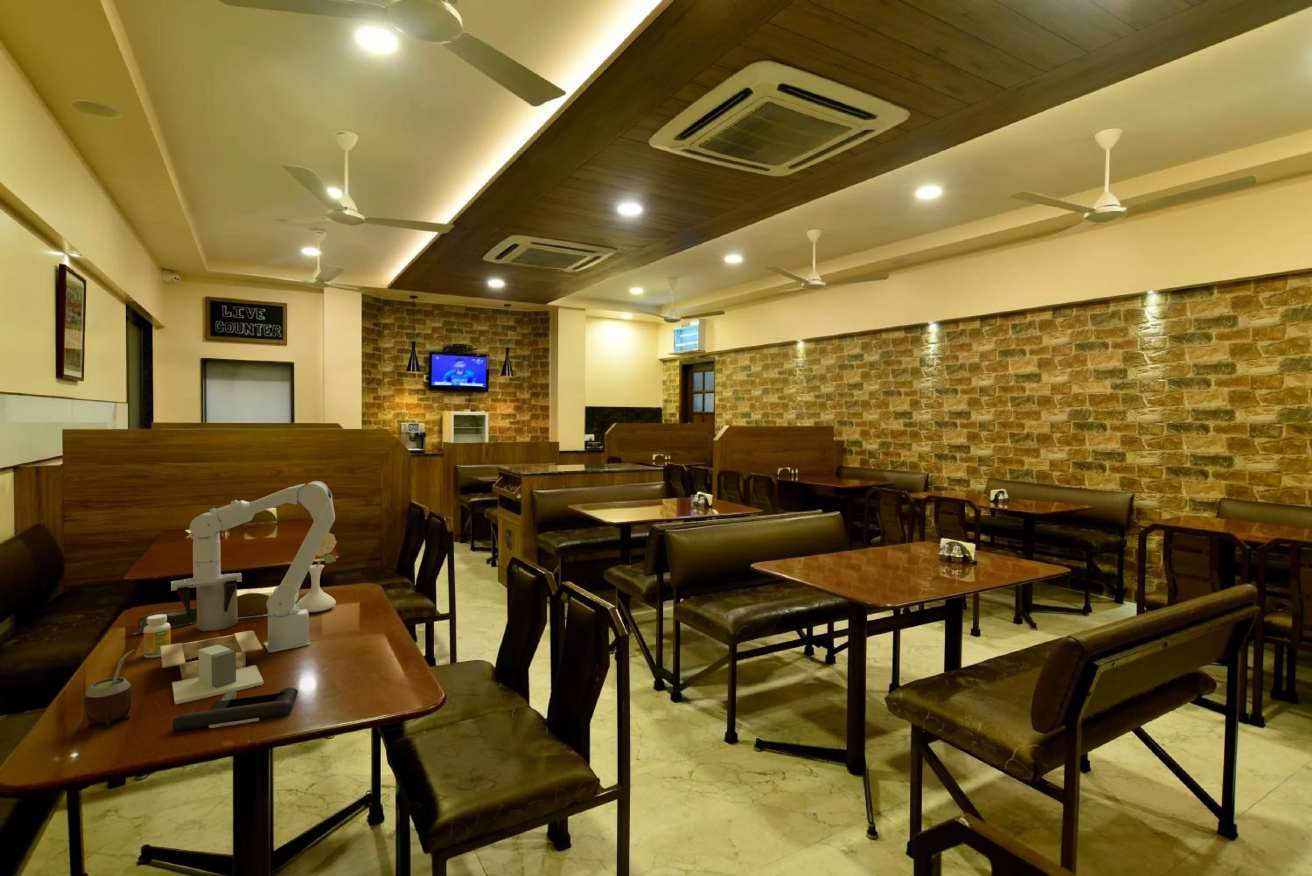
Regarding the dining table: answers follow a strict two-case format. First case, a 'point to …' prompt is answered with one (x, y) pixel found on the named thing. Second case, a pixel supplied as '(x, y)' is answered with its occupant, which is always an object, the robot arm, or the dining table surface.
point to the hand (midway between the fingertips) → (207, 613)
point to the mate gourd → (109, 700)
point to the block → (217, 665)
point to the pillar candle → (215, 608)
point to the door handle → (238, 710)
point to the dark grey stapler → (170, 618)
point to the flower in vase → (316, 596)
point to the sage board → (199, 689)
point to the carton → (182, 652)
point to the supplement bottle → (156, 635)
